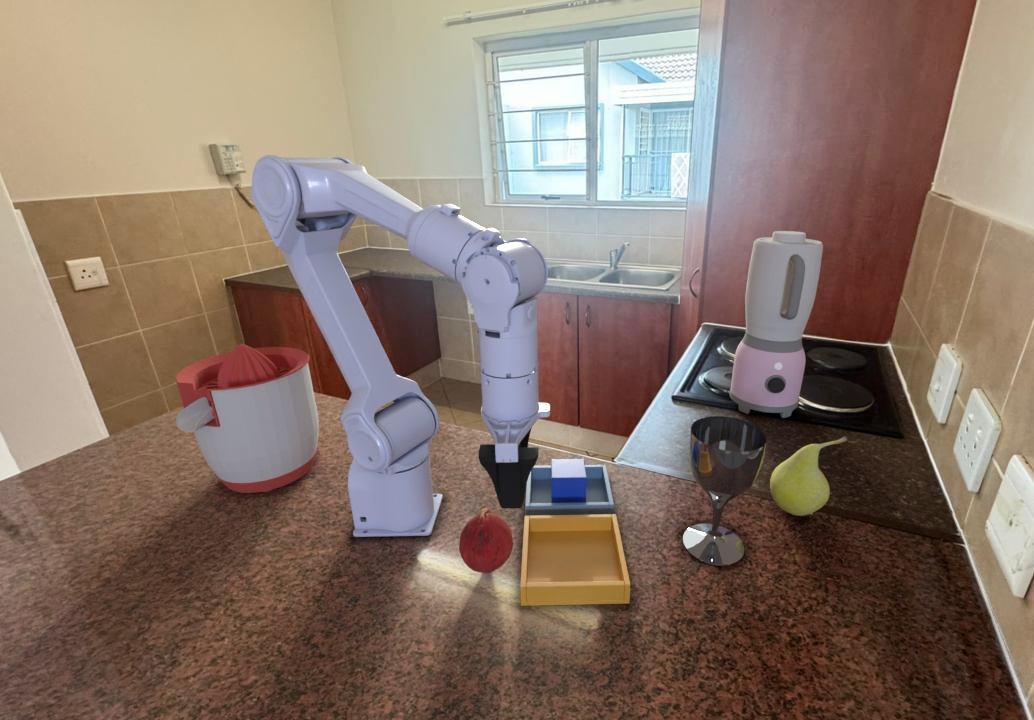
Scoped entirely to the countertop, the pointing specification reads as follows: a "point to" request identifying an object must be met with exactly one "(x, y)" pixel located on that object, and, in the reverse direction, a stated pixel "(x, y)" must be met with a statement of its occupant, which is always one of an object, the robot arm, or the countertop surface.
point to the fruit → (801, 481)
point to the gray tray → (541, 503)
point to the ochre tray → (573, 561)
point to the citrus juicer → (252, 415)
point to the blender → (776, 322)
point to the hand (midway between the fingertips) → (513, 484)
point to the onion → (485, 542)
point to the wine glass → (722, 480)
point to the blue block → (568, 481)
